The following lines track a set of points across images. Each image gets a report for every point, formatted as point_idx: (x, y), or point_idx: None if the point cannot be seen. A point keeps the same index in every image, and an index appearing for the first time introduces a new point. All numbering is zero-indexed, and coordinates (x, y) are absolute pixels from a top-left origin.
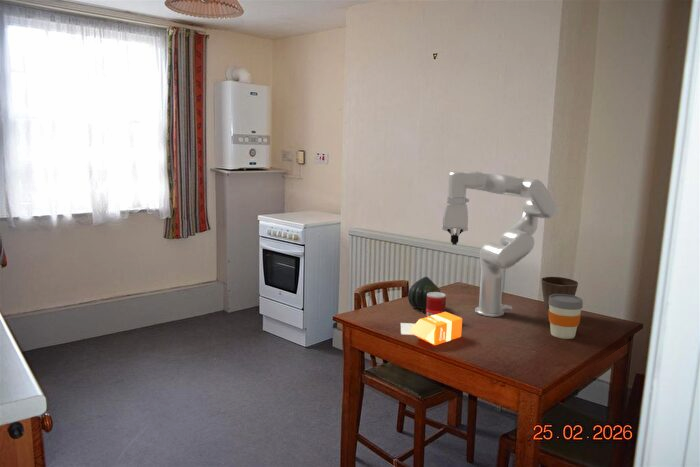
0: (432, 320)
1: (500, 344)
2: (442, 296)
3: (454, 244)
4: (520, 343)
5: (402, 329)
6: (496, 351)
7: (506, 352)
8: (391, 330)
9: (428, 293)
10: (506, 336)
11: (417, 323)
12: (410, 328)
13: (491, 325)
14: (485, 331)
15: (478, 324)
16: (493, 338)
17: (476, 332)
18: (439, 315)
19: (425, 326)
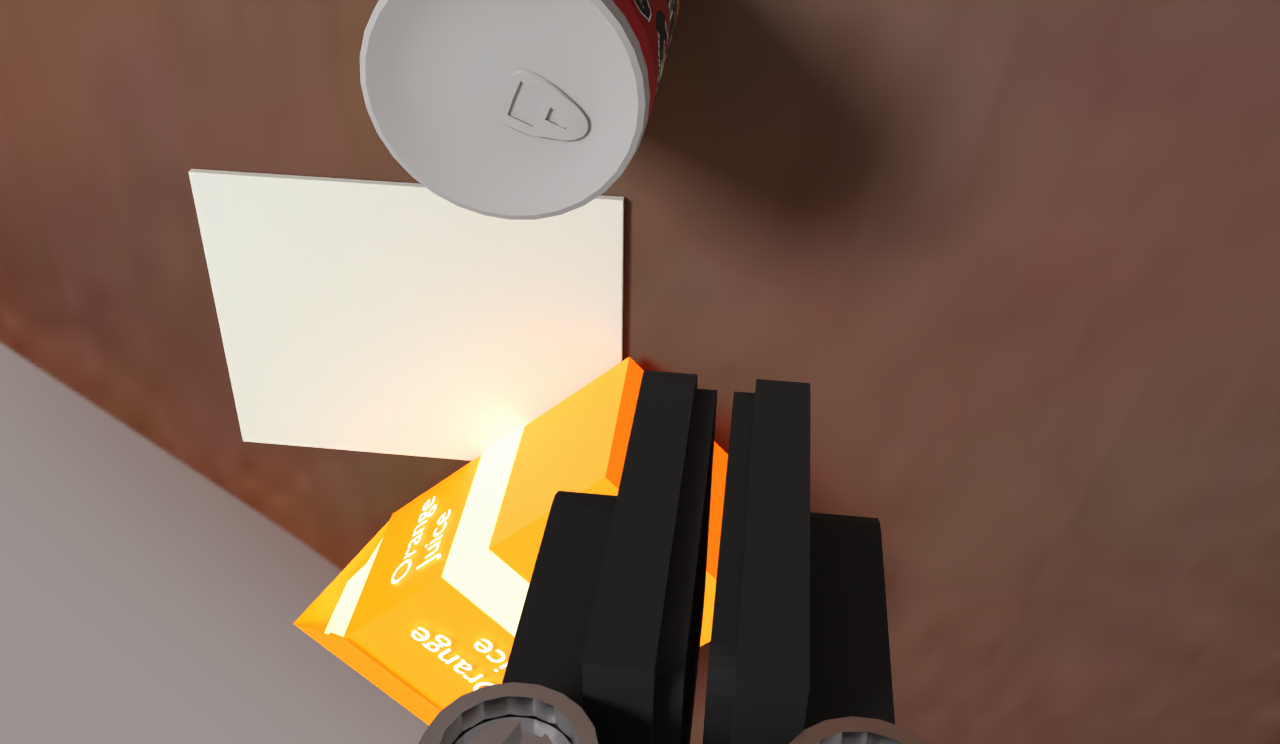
0: (461, 672)
1: (1063, 607)
2: (585, 202)
3: (704, 592)
4: (1257, 591)
5: (237, 342)
6: (972, 710)
7: (1042, 724)
8: (145, 346)
9: (379, 46)
10: (1213, 455)
11: (339, 644)
12: (307, 315)
13: (1208, 165)
14: (1053, 342)
15: (1059, 140)
16: (1058, 498)
17: (947, 370)
18: (533, 563)
19: (411, 696)
